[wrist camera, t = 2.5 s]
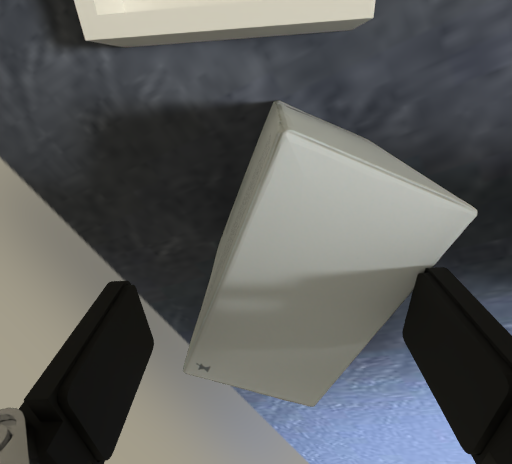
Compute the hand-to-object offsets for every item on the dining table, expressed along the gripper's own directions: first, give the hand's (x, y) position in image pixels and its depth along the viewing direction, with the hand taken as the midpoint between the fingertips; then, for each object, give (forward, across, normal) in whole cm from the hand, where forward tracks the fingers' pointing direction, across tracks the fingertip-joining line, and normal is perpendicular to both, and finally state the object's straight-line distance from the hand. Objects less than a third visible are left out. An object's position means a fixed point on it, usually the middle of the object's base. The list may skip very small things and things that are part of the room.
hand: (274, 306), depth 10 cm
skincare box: (+10, -1, 0) cm, 11 cm away
